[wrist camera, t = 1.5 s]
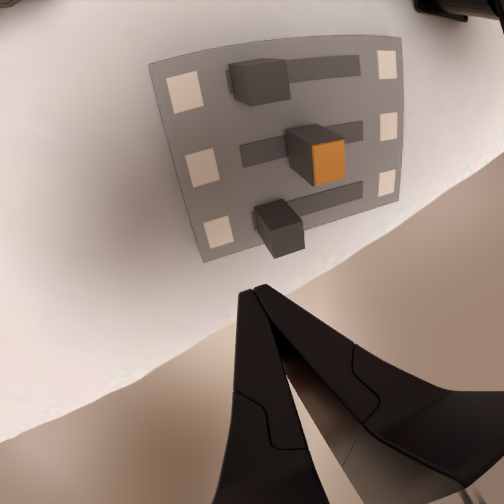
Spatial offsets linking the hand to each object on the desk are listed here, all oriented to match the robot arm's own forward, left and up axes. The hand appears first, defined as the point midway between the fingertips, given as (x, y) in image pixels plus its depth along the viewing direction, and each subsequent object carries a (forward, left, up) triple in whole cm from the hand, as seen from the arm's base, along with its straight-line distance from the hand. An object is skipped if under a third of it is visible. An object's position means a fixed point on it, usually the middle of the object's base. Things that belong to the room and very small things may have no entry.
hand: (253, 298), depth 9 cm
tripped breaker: (-6, 0, -10) cm, 12 cm away
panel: (-7, 0, -12) cm, 14 cm away
